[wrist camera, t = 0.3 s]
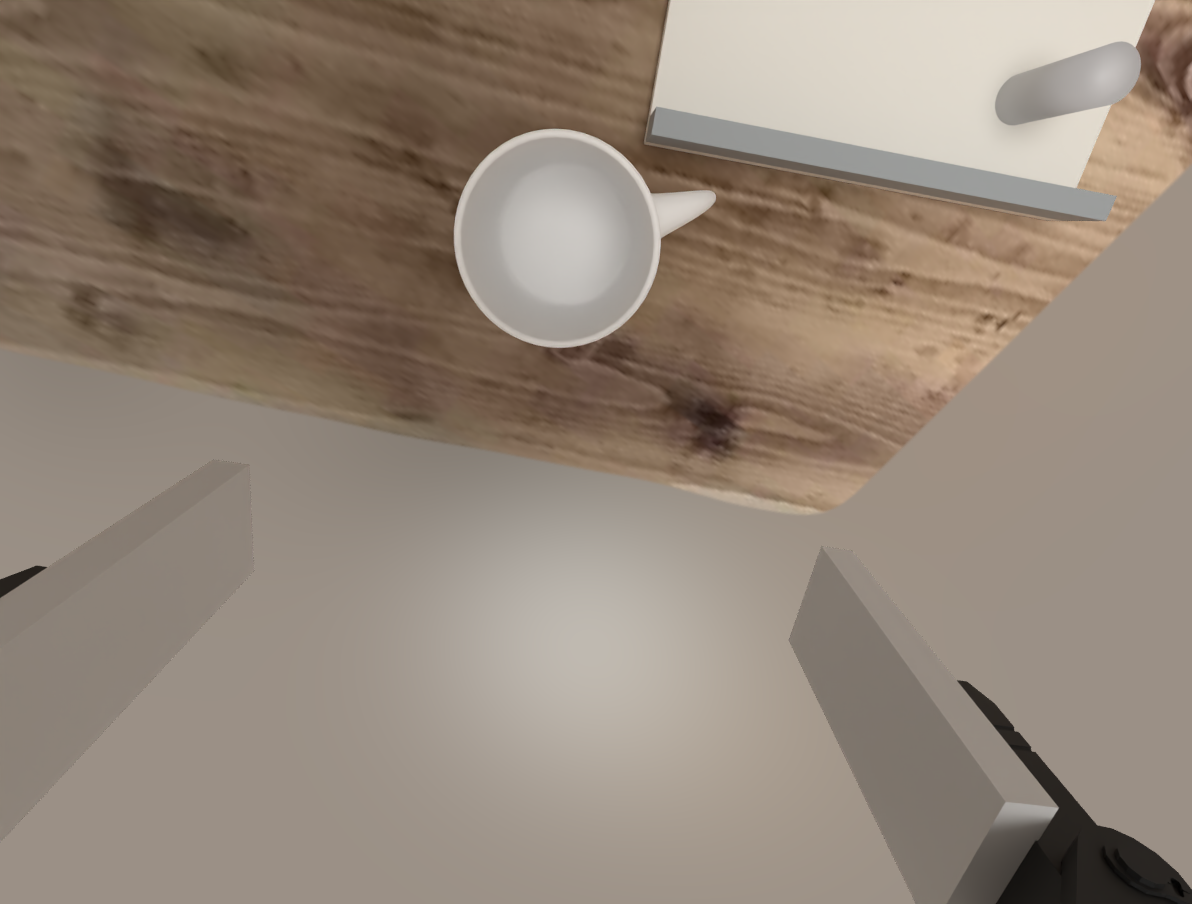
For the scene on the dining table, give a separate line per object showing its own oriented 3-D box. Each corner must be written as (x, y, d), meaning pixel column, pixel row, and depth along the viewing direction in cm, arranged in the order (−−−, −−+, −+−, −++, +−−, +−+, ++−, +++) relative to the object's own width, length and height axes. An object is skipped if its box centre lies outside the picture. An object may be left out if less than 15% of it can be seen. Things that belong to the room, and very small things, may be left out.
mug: (709, 276, 36) (757, 299, 26) (516, 328, 37) (491, 369, 27) (679, 118, 33) (721, 74, 23) (470, 179, 34) (422, 162, 24)
